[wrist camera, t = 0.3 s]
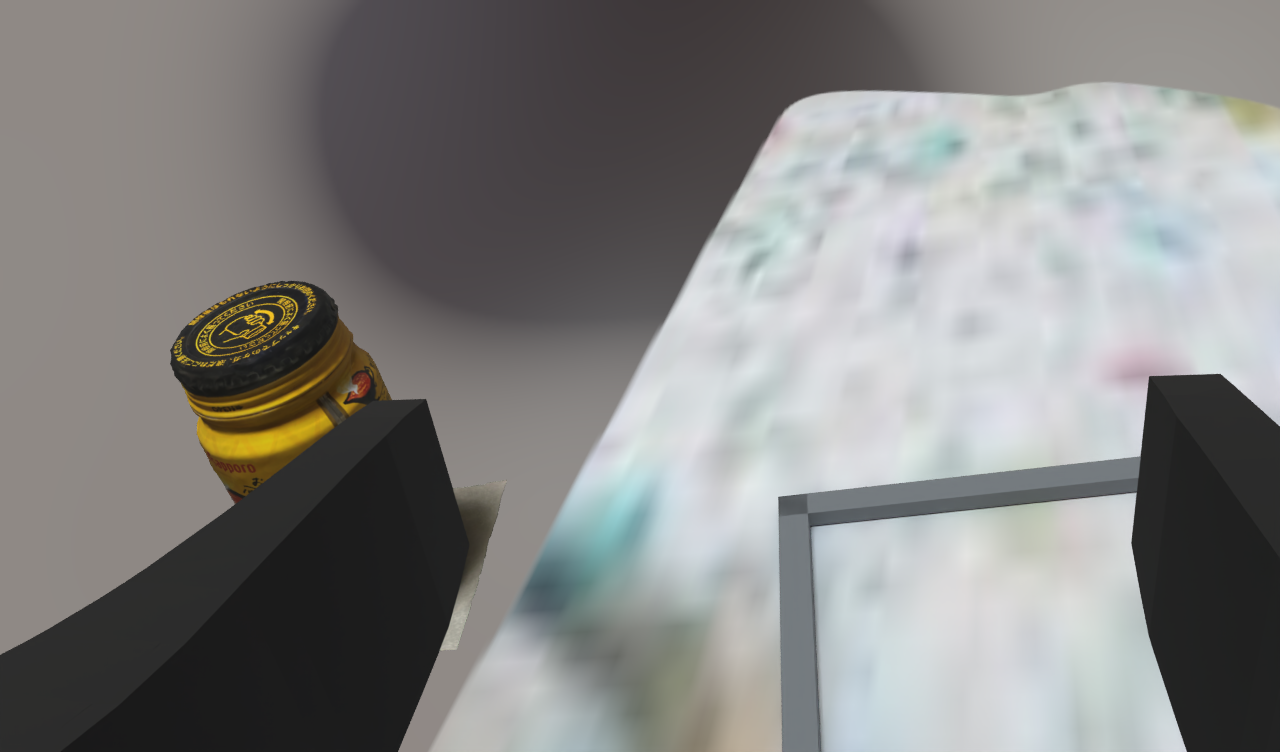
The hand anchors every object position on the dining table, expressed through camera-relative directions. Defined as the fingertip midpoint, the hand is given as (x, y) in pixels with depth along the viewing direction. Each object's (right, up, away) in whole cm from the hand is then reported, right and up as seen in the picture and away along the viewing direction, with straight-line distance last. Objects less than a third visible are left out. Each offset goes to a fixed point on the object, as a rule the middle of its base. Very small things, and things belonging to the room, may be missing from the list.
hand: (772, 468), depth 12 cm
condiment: (-10, -6, +31) cm, 34 cm away
